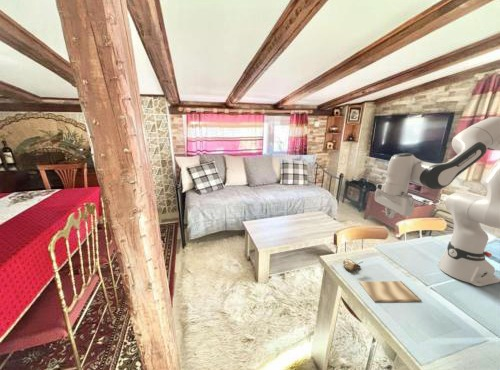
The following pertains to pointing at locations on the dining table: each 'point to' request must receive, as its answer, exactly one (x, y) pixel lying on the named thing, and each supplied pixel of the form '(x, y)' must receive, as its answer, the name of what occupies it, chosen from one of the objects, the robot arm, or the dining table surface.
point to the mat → (389, 291)
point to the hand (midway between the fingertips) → (389, 217)
